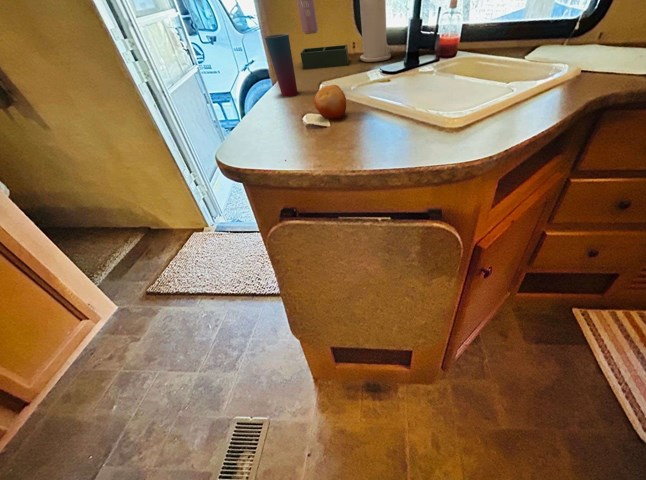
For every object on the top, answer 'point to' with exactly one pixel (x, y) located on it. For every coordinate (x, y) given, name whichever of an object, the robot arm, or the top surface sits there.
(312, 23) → the beverage can
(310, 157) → the top surface
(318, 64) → the rack
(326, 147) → the top surface
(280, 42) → the cup
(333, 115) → the fruit
